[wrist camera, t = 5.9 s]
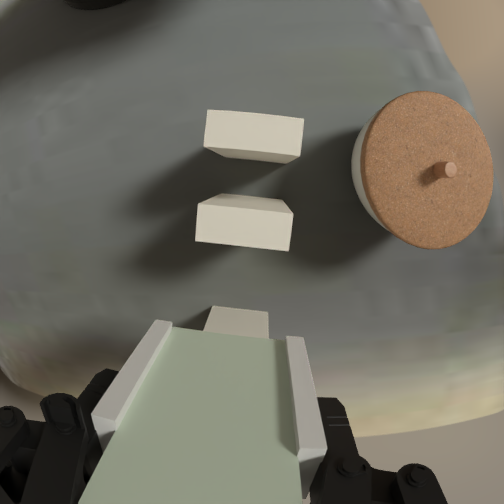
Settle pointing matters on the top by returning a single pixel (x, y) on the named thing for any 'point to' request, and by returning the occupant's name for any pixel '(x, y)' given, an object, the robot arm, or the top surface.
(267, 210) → the tile
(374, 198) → the lidded jar
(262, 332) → the tile
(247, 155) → the tile
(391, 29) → the top surface
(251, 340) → the tile
